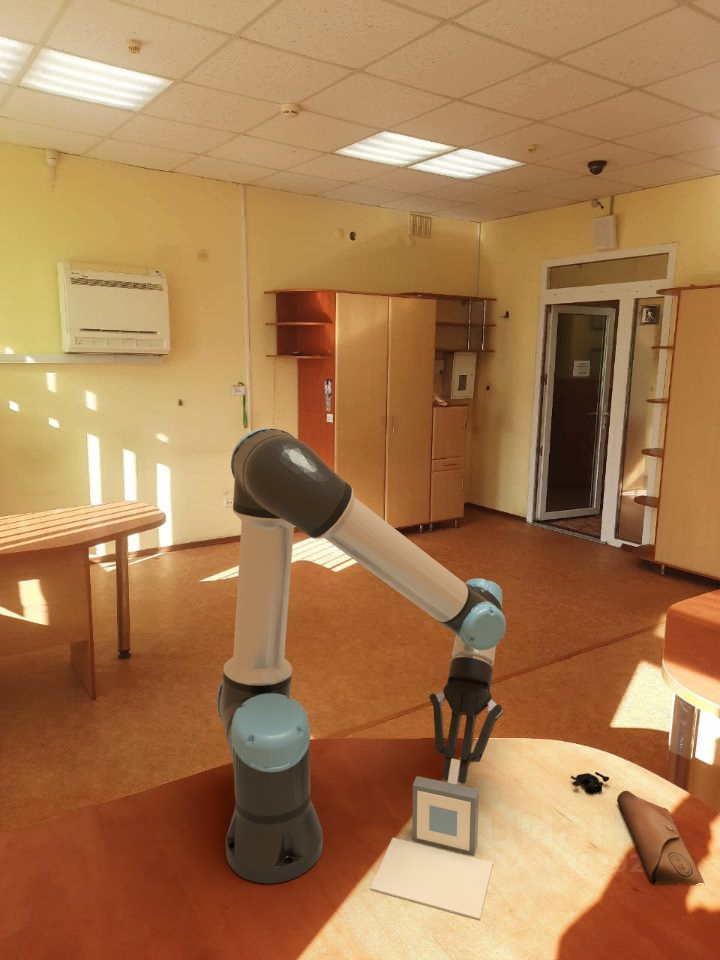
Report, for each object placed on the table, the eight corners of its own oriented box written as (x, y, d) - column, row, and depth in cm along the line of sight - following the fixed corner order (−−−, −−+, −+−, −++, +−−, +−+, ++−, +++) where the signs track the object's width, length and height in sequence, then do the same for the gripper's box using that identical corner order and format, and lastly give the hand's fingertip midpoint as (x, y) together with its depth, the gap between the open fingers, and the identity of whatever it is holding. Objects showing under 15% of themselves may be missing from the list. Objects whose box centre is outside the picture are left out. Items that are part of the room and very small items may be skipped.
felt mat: (370, 889, 100) (370, 887, 100) (392, 839, 110) (392, 837, 110) (479, 920, 95) (479, 918, 95) (492, 863, 105) (493, 862, 105)
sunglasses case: (710, 887, 100) (690, 851, 99) (665, 906, 101) (645, 871, 100) (666, 806, 118) (648, 775, 117) (628, 822, 119) (610, 792, 118)
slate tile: (411, 841, 110) (412, 785, 108) (416, 830, 112) (416, 776, 110) (474, 856, 106) (475, 799, 104) (477, 845, 109) (478, 789, 107)
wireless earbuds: (598, 770, 126) (614, 777, 121) (600, 784, 126) (616, 792, 121) (564, 775, 124) (578, 783, 119) (565, 790, 124) (580, 798, 119)
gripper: (510, 675, 125) (492, 815, 113) (440, 664, 129) (415, 798, 117) (507, 661, 119) (488, 807, 107) (433, 650, 123) (407, 789, 111)
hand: (450, 802), depth 112 cm, fingers closed
